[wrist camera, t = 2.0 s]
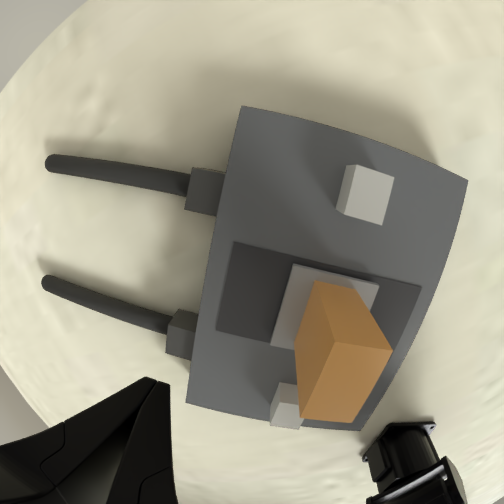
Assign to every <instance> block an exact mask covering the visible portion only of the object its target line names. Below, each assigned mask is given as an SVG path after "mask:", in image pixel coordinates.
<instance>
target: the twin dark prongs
mask: <svg viewBox="0 0 504 504" xmlns="http://www.w3.org/2000/svg"><path fill="white" fill-rule="evenodd" d="M45 168H46V169H47V170H48V171H49V172H53V173H60V174H66V175H72V176H78V177H84V178H90V179H96V180H102V181H108V182H113V183H119V184H124V185H130V186H135V187H140V188H145V189H151V190H156V191H161V192H166V193H171V194H176V195H181V196H185V197H187V192H188V187H189V182H190V177H191V174H186V173H180V172H175V171H169V170H164V169H158V168H152V167H146V166H140V165H133V164H127V163H120V162H113V161H106V160H99V159H91V158H83V157H75V156H66V155H57V154H52V155H50V156H48V157H47V159H46V161H45ZM41 284H42V287H43V289H44V290H46V291H48V292H50V293H53V294H55V295H57V296H60V297H62V298H64V299H67V300H69V301H72V302H74V303H77V304H79V305H82V306H84V307H87V308H89V309H92V310H95V311H97V312H100V313H103V314H105V315H108V316H111V317H114V318H116V319H119V320H122V321H125V322H128V323H131V324H134V325H137V326H140V327H143V328H146V329H149V330H152V331H155V332H159V333H162V334H165V335H167V330H168V324H169V323H170V321H171V320H172V318H173V317H171V316H168V315H164V314H161V313H157V312H154V311H151V310H148V309H144V308H141V307H138V306H135V305H132V304H129V303H126V302H123V301H120V300H117V299H114V298H111V297H108V296H105V295H102V294H99V293H96V292H94V291H91V290H88V289H85V288H83V287H80V286H77V285H74V284H72V283H69V282H67V281H64V280H61V279H59V278H56V277H54V276H51V275H46V276H44V277H43V278H42V281H41Z"/></svg>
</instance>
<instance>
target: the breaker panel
mask: <svg viewBox="0 0 504 504" xmlns="http://www.w3.org/2000/svg"><path fill="white" fill-rule="evenodd" d="M467 184H468V180H467V179H465V178H463V177H461V176H459V175H457V174H454V173H452V172H450V171H448V170H446V169H444V168H442V167H440V166H437V165H435V164H433V163H431V162H428V161H426V160H424V159H421V158H419V157H416V156H414V155H412V154H409V153H407V152H404V151H402V150H399V149H396V148H394V147H391V146H389V145H386V144H383V143H380V142H377V141H375V140H372V139H369V138H366V137H363V136H360V135H357V134H354V133H351V132H348V131H344V130H341V129H338V128H334V127H331V126H328V125H324V124H320V123H317V122H313V121H309V120H305V119H302V118H298V117H293V116H289V115H285V114H281V113H276V112H272V111H267V110H262V109H257V108H252V107H247V106H241V110H240V114H239V118H238V122H237V126H236V130H235V135H234V139H233V143H232V148H231V152H230V156H229V161H228V165H227V170H226V173H225V172H220V171H215V170H210V169H205V168H192V172H191V177H190V182H189V187H188V192H187V197H186V203H185V208H184V210H189V211H193V212H198V213H202V214H207V215H211V216H216V222H215V227H214V232H213V238H212V243H211V248H210V253H209V259H208V264H207V269H206V275H205V281H204V286H203V292H202V298H201V304H200V310H199V314H195V313H192V312H188V311H184V310H181V309H178V311H177V312H176V314H175V315H174V317H173V318H172V320H171V321H170V323H169V324H168V330H167V341H166V352H165V353H167V354H170V355H174V356H177V357H180V358H184V359H187V360H191V367H190V374H189V381H188V389H187V396H186V403H189V404H192V405H196V406H200V407H204V408H208V409H212V410H216V411H220V412H224V413H228V414H233V415H238V416H242V417H247V418H252V419H258V420H263V421H269V422H270V426H277V427H283V428H291V429H298V430H299V428H300V426H304V427H313V428H323V429H335V430H351V431H360V430H361V429H362V428H363V426H364V425H365V423H366V422H367V420H368V419H369V417H370V416H371V414H372V413H373V411H374V410H375V408H376V407H377V405H378V403H379V402H380V400H381V399H382V397H383V395H384V394H385V392H386V390H387V389H388V387H389V385H390V384H391V382H392V380H393V378H394V377H395V375H396V373H397V371H398V369H399V368H400V366H401V364H402V362H403V360H404V358H405V356H406V354H407V353H408V351H409V349H410V347H411V345H412V343H413V341H414V339H415V336H416V334H417V332H418V330H419V328H420V326H421V324H422V321H423V319H424V317H425V315H426V312H427V310H428V308H429V305H430V303H431V301H432V298H433V296H434V293H435V291H436V288H437V286H438V283H439V280H440V278H441V275H442V272H443V269H444V267H445V264H446V261H447V258H448V255H449V252H450V249H451V246H452V242H453V239H454V236H455V232H456V229H457V225H458V222H459V218H460V214H461V210H462V206H463V202H464V198H465V193H466V189H467ZM293 264H298V265H302V266H306V267H310V268H315V269H319V270H323V271H327V272H332V273H336V274H340V275H344V276H348V277H353V278H357V279H361V280H365V281H370V282H374V283H377V284H378V285H379V289H378V291H377V294H376V297H375V299H374V302H373V304H372V307H371V309H370V313H371V314H372V316H373V318H374V319H375V321H376V323H377V324H378V326H379V328H380V329H381V331H382V333H383V334H384V336H385V338H386V339H387V341H388V343H389V344H390V346H391V348H392V350H393V352H392V354H391V356H390V358H389V360H388V362H387V364H386V366H385V367H384V369H383V371H382V373H381V375H380V377H379V378H378V380H377V382H376V384H375V386H374V387H373V389H372V391H371V393H370V394H369V396H368V398H367V399H366V401H365V403H364V404H363V406H362V408H361V409H360V411H359V412H358V414H357V416H356V417H355V419H354V420H353V422H352V423H345V422H332V421H322V420H313V419H305V418H300V415H299V400H298V386H297V373H296V361H295V350H291V349H286V348H281V347H276V346H271V345H270V340H271V337H272V334H273V331H274V327H275V324H276V321H277V317H278V314H279V311H280V307H281V304H282V300H283V297H284V294H285V290H286V287H287V283H288V280H289V276H290V273H291V269H292V265H293Z"/></svg>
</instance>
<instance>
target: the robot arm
mask: <svg viewBox="0 0 504 504" xmlns="http://www.w3.org/2000/svg"><path fill="white" fill-rule="evenodd" d="M435 427H436V424H435V422H421V423H391V424H389V425H387V426H386V428H385V429H384V431H383V432H382V433H381V435H380V436H379V437H378V438H377V440H376V441H375V442H374V444H373V445H372V446H371V447H370V449H369V450H368V451H367V452H366V454H365V455H364V456H363V457H362V461H363V462H368V463H369V467H370V472H371V476H372V480H373V482H376V483H377V487H378V491H379V494H377V495H375V496H373V497H372V496H371V497H369V498H367V499H366V504H467V499H466V494H465V490H464V486H463V482H462V479H461V477H460V475H459V473H458V471H457V469H456V467H455V466H454V464H453V463H452V462H451V461H450V460H449V459H448V458H447V456H444V457H443V458H441V460H440V459H439V457H438V454H437V452H436V450H435V448H434V445H433V443H432V441H431V439H430V436H429V435H430V434H431V432H432V431H433V430H434V429H435ZM446 478H447V480H445V481H444V479H446ZM0 504H178V500H177V496H176V490H175V483H174V472H173V459H172V440H171V410H170V385H169V384H167V383H164V382H161V381H158V382H157V380H155V379H152V378H149V377H143V378H141V379H139V380H138V381H136V382H134V383H133V384H131V385H129V386H127V387H126V388H124V389H122V390H120V391H119V392H117V393H115V394H113V395H111V396H110V397H108V398H106V399H104V400H102V401H101V402H99V403H97V404H95V405H93V406H91V407H90V408H88V409H86V410H84V411H82V412H80V413H78V414H76V415H75V416H73V417H71V418H69V419H67V420H65V421H64V422H61V423H59V424H57V425H55V426H53V427H51V428H49V429H46V430H44V431H42V432H40V433H37V434H34V435H32V436H29V437H26V438H23V439H20V440H17V441H14V442H10V443H7V444H4V445H1V446H0Z"/></svg>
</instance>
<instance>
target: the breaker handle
mask: <svg viewBox="0 0 504 504" xmlns="http://www.w3.org/2000/svg"><path fill="white" fill-rule="evenodd" d="M378 289H379V285H378V284H377V283H374V282H370V281H365V280H361V279H357V278H353V277H348V276H344V275H340V274H336V273H332V272H327V271H323V270H319V269H315V268H310V267H306V266H302V265H298V264H293V265H292V269H291V273H290V276H289V280H288V283H287V287H286V290H285V294H284V297H283V300H282V304H281V307H280V311H279V314H278V317H277V321H276V324H275V327H274V331H273V334H272V337H271V340H270V345H271V346H276V347H281V348H286V349H291V350H295V361H296V373H297V386H298V400H299V415H300V418H305V419H313V420H322V421H332V422H345V423H352V422H353V420H354V419H355V417H356V416H357V414H358V412H359V411H360V409H361V408H362V406H363V404H364V403H365V401H366V399H367V398H368V396H369V394H370V393H371V391H372V389H373V387H374V386H375V384H376V382H377V380H378V378H379V377H380V375H381V373H382V371H383V369H384V367H385V366H386V364H387V362H388V360H389V358H390V356H391V354H392V352H393V350H392V348H391V346H390V344H389V343H388V341H387V339H386V338H385V336H384V334H383V333H382V331H381V329H380V328H379V326H378V324H377V323H376V321H375V319H374V318H373V316H372V314H371V313H370V309H371V307H372V304H373V302H374V299H375V297H376V294H377V291H378Z"/></svg>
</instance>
